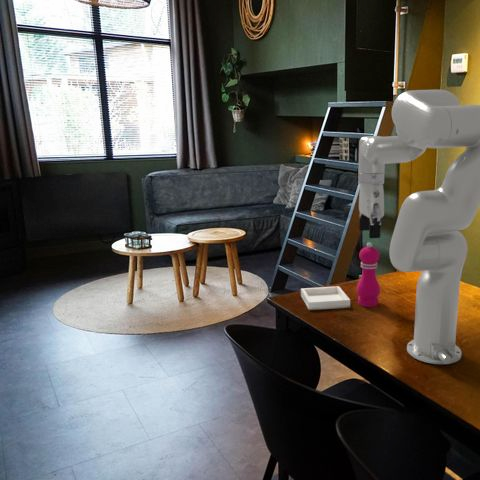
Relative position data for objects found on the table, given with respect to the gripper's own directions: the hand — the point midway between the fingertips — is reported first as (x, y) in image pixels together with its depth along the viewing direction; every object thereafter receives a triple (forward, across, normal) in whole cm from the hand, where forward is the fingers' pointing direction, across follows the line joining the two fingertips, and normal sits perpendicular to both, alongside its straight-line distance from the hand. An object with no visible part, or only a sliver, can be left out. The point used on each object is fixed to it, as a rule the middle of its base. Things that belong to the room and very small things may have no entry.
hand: (369, 233), depth 150 cm
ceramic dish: (+23, +3, +13) cm, 26 cm away
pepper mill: (+23, -1, 0) cm, 23 cm away
